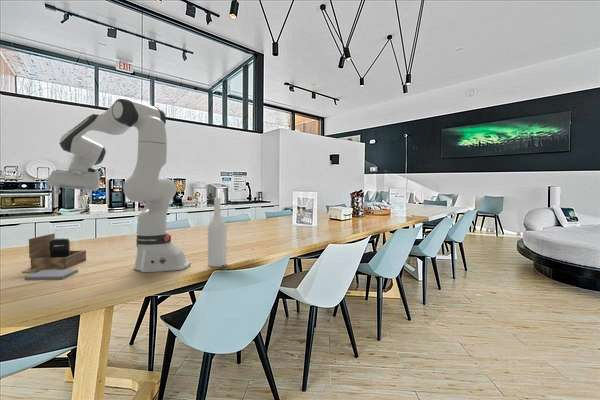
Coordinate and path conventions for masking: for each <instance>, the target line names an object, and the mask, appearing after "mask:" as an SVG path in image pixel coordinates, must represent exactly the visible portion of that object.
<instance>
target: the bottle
mask: <svg viewBox="0 0 600 400" xmlns="http://www.w3.org/2000/svg"><path fill="white" fill-rule="evenodd" d="M221 215H222V214H221V197H213V216H212V218H211V220H210V222H209V223H208V225H207V266H208V265H210V266H209V267H212V266H219V267H223V266H222V265H224V266H226V265H227V224H226V222H225V220H224V219H223V217H222V216H221ZM225 264H226V265H225Z"/></svg>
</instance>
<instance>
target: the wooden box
mask: <svg viewBox="0 0 600 400" xmlns="http://www.w3.org/2000/svg"><path fill="white" fill-rule="evenodd" d="M54 238H56V234H55V233H49V234H45V235H40V236H36V237H32V238H28V254H29V255H28V256H29V257H28V258H29V259H30V268H27V269H25V270H22V271H21V273H36V272H39V271H42V270H67V269H68V268H70V267H73V266H75V265H78V264H80V263H82V262H84V261H87V250H85V249H84V250H77V249H76V250H73V249H72V250H71V249H70V256H68V257H65V258H51V255H50V241H51V240H52V239H54Z"/></svg>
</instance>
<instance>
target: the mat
mask: <svg viewBox="0 0 600 400" xmlns="http://www.w3.org/2000/svg"><path fill="white" fill-rule="evenodd" d="M76 273H79V269H63V270H42V271H39V272H33V273H32V274H29V275H26V276H24V280H26V281H27V280H28V281H29V280H30V281H31V280H38V281H39V280H63V279H66V278H68V277H70V276H73V275H74V274H76Z"/></svg>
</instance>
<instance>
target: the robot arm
mask: <svg viewBox="0 0 600 400" xmlns="http://www.w3.org/2000/svg"><path fill="white" fill-rule="evenodd" d="M166 121H167V117H166V113H165V111H163V109H161V108H159V107H157V106H152V105H150V104H148V103H145V102H142V101H138V100H133V99H131V98H130V97H120V98H117V99H116V100H115V101H114V102H113V103H112V104H111V106H110V107H108V108H107V109H106V111H104V112H102V113H92V114H90V115H88V116H87V117H86V118H85V119H83V120H82V121H80V123H78V124H77V125H75V126H74V127H73V128H71V129H70V130H68V131H67V132H65V133H64V134H63V135H62V136H61V138H60V139H59V146H60V148H61V149H62V151H65V152H68V153H70V154H73V158H72V162H71V163H70V164H69V166H68V168H67V170H64V169H63V170H62V169H55V170H52V171H51V173H50V175H49V177H48V178H47V180H46V182H47V184H48V186H49V187H54V188H55V191H54V192H55V195H60V194H61V193H62V191H61V189H60V188H64V189H70V190H71V189H74V190H81V191H80V192H79V193H78V194H79V197H85V195H86V194H88V193H89V192H90V191H92V192H97V191H98V190H99V189H100V186H101V182H100V180H101V178H100V177H101V176H100V172H99V171H98V169H95V168H92V167H93V166H96V165H99V164H101V163H103V160H104V158H105V156H106V154H107V151H106V150H107V149H106V148H105V146H103V145H102V144H100V143H98V142H96V141H94V140H91V139H90V138H88V137H86V136H84V135H85V134H86V133H88V132H89V131H90V132H91V131H94V132H101V133H104V134H108V135H111V136H115V135H116V136H118V135H119V136H120V135H123V134H124V133H126V132H127V131H128V130H129V129H130V128H132V127H133V128H136V130H137V132H138V133H137V135H138V136H137V159H136V164H135V167H134V170H133V172H132V174H131V175H130V177H129V178H127V179H126V181H125V182H124V184H123V194H124V196H125V197H126V198H127V199H128V200H130V201H132V202H137V203H144V205H143V206H144V207H143V209H142V211H141V212H140V213H139V214H138V216H137V235H136V240H135V241H136V243H135V244H136V250H137V251H136V257H135V262H134V266H133V269H134V270H136V271H139V272H141V273H152V272H153V273H154V272H155V273H156V272H157V273H158V272H170V271H182V270H184V269H185V270H186V269H187V268H189V267H190V266H189V265H191V261H190V260H188V259H186V256H185V252H184V250H183V249H182V248H180V247H178V246H177V245H176V244H174V243H173V242H172V234H168V233H167V215H168V209H169V206H170V204H171V202H172V199H173V198H174V197H175V195H176V193H177V185H176V183H175V182H174V181H173V180H172V179H170V178H168V177H165V176H160V172H161V170H162V168H163V167H164V166H165V165H166V163H167V157H168V156H167V153H168V152H167V150H168V149H167V146H168V145H167V144H168V143H167V142H168V137H167V129H166ZM188 266H189V267H188Z"/></svg>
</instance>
